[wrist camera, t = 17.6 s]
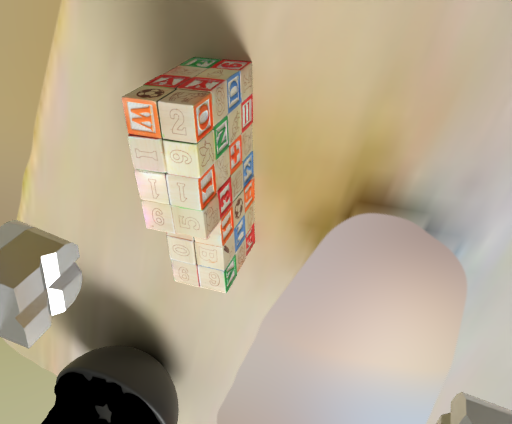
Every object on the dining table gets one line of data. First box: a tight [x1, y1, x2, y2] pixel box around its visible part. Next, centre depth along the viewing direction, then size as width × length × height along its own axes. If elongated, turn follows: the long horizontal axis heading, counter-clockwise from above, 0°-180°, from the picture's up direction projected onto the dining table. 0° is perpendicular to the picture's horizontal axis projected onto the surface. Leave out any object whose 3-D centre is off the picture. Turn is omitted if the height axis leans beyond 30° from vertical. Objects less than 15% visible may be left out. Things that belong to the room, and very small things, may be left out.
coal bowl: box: [41, 346, 178, 424], centre depth 69 cm, size 20×20×19 cm
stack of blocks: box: [122, 57, 255, 293], centre depth 44 cm, size 21×6×12 cm, turn 2°
